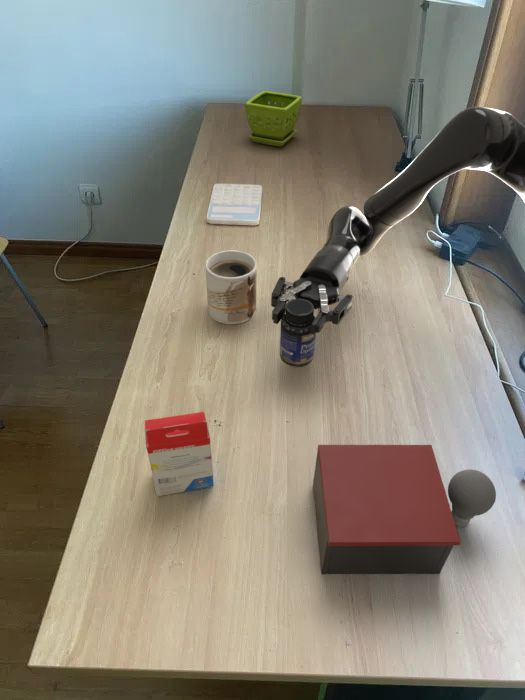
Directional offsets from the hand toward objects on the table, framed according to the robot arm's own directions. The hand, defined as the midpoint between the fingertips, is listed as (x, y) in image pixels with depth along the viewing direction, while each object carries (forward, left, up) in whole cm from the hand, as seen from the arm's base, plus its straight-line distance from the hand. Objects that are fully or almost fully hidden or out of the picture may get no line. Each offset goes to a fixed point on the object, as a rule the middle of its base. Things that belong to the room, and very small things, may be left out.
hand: (294, 324), depth 92 cm
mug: (+10, -20, -12) cm, 26 cm away
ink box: (+17, +22, -12) cm, 30 cm away
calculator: (+11, -63, -12) cm, 65 cm away
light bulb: (-22, +29, -12) cm, 38 cm away
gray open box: (-10, +30, -12) cm, 34 cm away
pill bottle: (-1, -2, -9) cm, 10 cm away
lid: (-10, +30, -3) cm, 32 cm away
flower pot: (0, -108, -12) cm, 109 cm away
